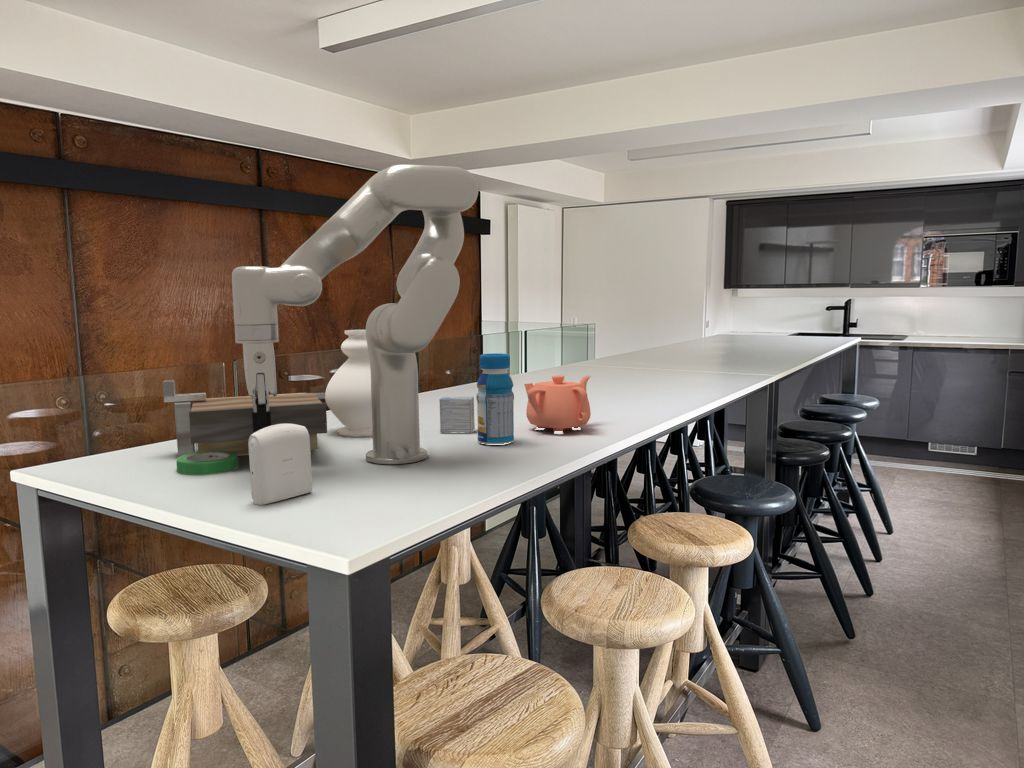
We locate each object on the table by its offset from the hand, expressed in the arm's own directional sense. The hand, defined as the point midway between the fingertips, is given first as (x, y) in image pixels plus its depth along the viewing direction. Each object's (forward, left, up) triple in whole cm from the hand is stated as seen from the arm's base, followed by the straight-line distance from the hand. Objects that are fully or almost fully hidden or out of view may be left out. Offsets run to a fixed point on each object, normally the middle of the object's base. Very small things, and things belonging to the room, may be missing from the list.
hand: (262, 432), depth 134 cm
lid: (+17, 0, -2) cm, 17 cm away
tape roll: (+11, +10, -9) cm, 17 cm away
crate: (+30, +2, -8) cm, 31 cm away
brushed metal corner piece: (+26, +14, +4) cm, 29 cm away
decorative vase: (+36, -25, -8) cm, 44 cm away
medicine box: (+26, -46, -8) cm, 53 cm away
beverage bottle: (+10, -50, -8) cm, 52 cm away
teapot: (+19, -70, -8) cm, 73 cm away
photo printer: (-17, -2, -8) cm, 19 cm away
